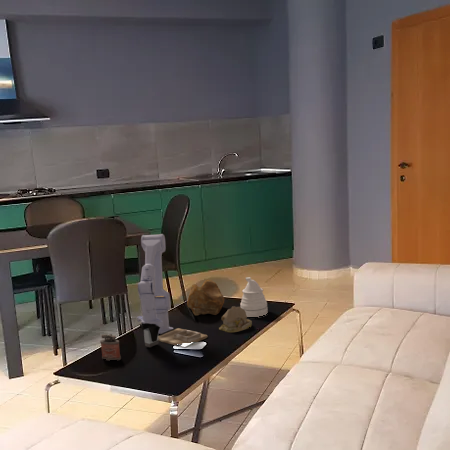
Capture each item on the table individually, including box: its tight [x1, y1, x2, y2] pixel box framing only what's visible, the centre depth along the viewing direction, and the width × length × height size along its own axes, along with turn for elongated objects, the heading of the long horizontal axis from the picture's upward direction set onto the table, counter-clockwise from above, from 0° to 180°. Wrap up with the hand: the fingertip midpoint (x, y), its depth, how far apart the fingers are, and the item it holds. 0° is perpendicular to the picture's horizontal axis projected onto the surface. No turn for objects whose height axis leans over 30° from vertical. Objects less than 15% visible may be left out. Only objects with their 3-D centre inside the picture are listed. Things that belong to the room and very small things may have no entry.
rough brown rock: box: [186, 279, 225, 317], centre depth 273 cm, size 23×17×15 cm
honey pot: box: [239, 276, 269, 318], centre depth 266 cm, size 13×13×18 cm
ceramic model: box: [218, 305, 253, 333], centre depth 248 cm, size 14×11×10 cm
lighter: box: [99, 334, 122, 361], centre depth 221 cm, size 8×3×10 cm, turn 71°
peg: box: [143, 328, 160, 348], centre depth 232 cm, size 3×5×7 cm, turn 138°
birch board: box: [158, 327, 208, 346], centre depth 239 cm, size 18×14×3 cm
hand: (151, 340), depth 232 cm, fingers closed on peg, 3 cm apart
